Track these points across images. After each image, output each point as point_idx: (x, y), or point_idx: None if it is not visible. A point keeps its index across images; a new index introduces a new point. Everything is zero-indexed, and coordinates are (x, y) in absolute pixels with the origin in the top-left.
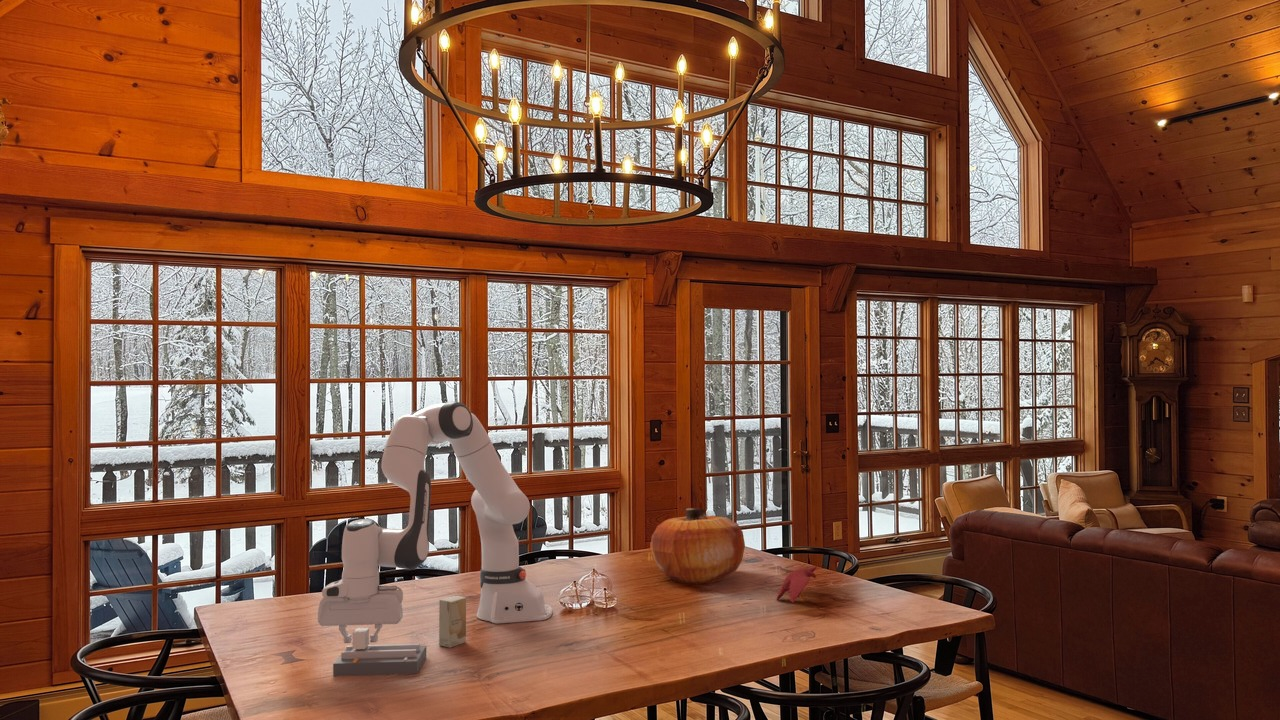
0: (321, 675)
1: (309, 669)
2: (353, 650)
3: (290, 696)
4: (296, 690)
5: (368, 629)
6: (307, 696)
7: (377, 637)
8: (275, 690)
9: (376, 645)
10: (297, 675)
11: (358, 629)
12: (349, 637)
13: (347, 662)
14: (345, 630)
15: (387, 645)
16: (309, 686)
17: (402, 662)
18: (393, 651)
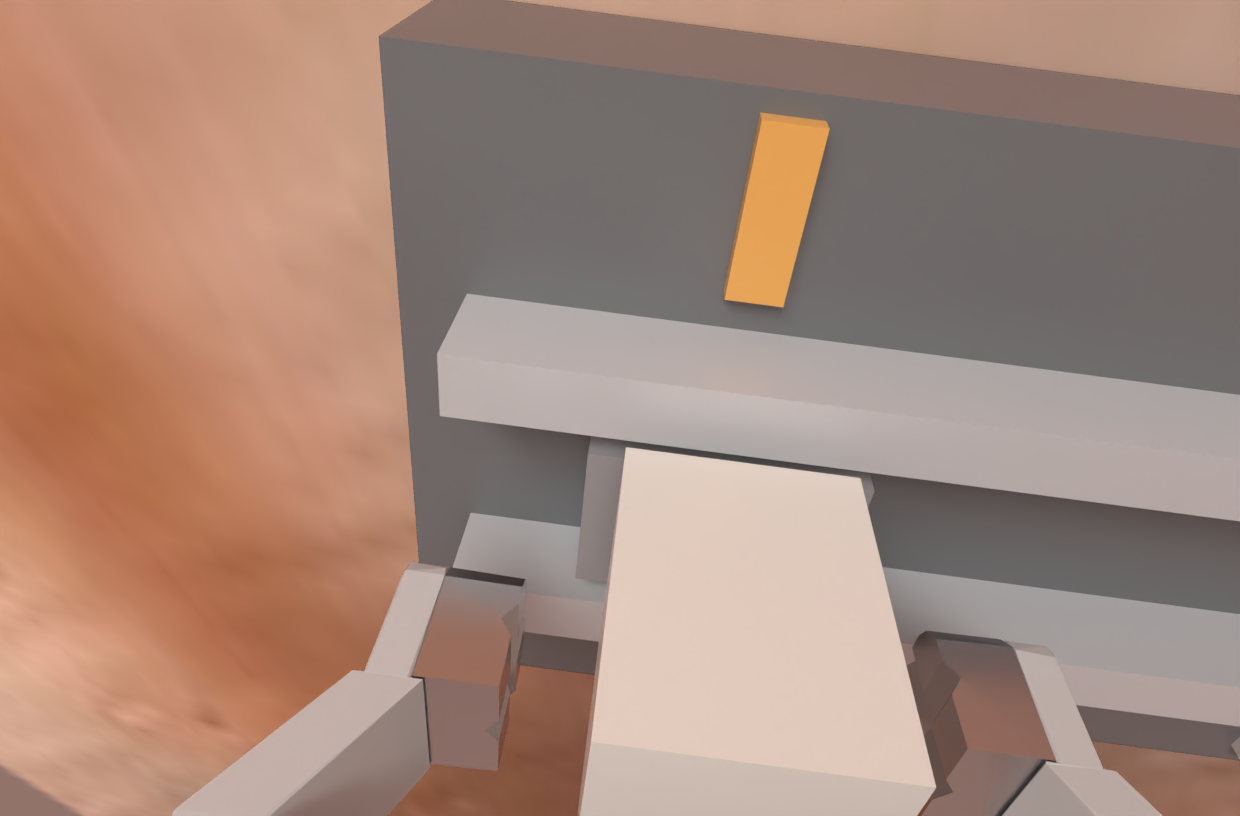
0: (331, 502)
1: (87, 304)
2: (605, 567)
3: None
4: (283, 719)
5: (911, 792)
6: (412, 800)
7: (1059, 707)
8: (123, 690)
9: (994, 455)
10: (77, 453)
11: (654, 813)
12: (501, 749)
13: (581, 657)
14: (336, 780)
15: (1197, 498)
16: None
17: (1204, 747)
18: (1193, 713)
